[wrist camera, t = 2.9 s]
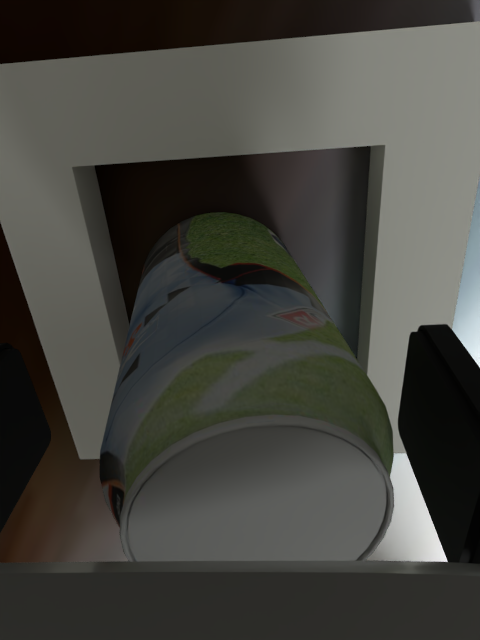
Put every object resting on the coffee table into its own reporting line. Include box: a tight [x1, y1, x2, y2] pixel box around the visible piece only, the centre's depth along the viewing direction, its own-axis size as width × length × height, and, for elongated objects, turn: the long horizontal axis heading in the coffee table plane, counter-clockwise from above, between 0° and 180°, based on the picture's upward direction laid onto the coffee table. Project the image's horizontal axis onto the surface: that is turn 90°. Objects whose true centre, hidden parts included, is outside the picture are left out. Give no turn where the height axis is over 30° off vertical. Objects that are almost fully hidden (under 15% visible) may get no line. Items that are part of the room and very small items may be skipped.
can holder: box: [0, 21, 480, 459], centre depth 17 cm, size 16×16×2 cm
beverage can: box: [100, 212, 394, 562], centre depth 13 cm, size 6×7×12 cm
